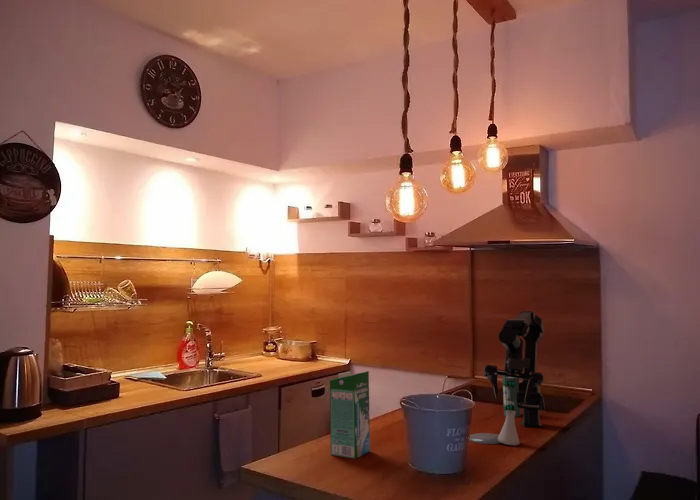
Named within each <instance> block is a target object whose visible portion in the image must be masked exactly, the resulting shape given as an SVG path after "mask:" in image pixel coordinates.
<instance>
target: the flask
mask: <svg viewBox="0 0 700 500" xmlns="http://www.w3.org/2000/svg"><path fill="white" fill-rule="evenodd" d="M515 414H516V412H515V411H512V410H506V416H505V421H504V423H503V426H502V428H501V431H500V433H498V435H499V436H498V442H501V444H503V445H508V446H518V445H520V444H521V443H520V438H519V435H518V432H517V427H516V421H515V420H516V419H515Z"/></svg>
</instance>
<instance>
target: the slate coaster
mask: <svg viewBox="0 0 700 500" xmlns="http://www.w3.org/2000/svg"><path fill="white" fill-rule="evenodd" d="M469 436H470V438H469V437H468V440H469V442H472V443H475V444H481V445H499V444H502V443H501V442H498V436H499V433H498V434H497V433H492V432H490V433H489V432H479V433H472V434H470V435H469Z"/></svg>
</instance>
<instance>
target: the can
mask: <svg viewBox="0 0 700 500" xmlns="http://www.w3.org/2000/svg"><path fill="white" fill-rule="evenodd" d="M519 383H520V379H519V378H512V377H506V376H502V389H503V390H502V393H503V396H502V397H503V400H502V401H503V415H504V416H505V417H506V410H512V411H515V412H516V414H515V417H516V418H517V417H521V415H522V414H521V408H518V404H517V391H518V388H519ZM515 417H514V418H515Z"/></svg>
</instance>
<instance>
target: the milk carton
mask: <svg viewBox="0 0 700 500" xmlns="http://www.w3.org/2000/svg"><path fill="white" fill-rule="evenodd" d="M337 375H338V377H337V378H333V379H329V408H330V409H329V413H330V414H329V420H330V423H329V427H330V428H329V429H330V455H331V456H336V457H342V458H348V459H355V460H356V459H358V458H361V457H362V456H364V455H366V454H368V453H370V452H371V437H370V436H371V435H370V434H371V432H370V431H371V429H370V381H369V380H370V378H369V377H370V376H369V375H370V372H369V370H366V371H362V372H357V373H354V374H351V371H350V370H349V371H345V372H341V373H338V374H337Z"/></svg>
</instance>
